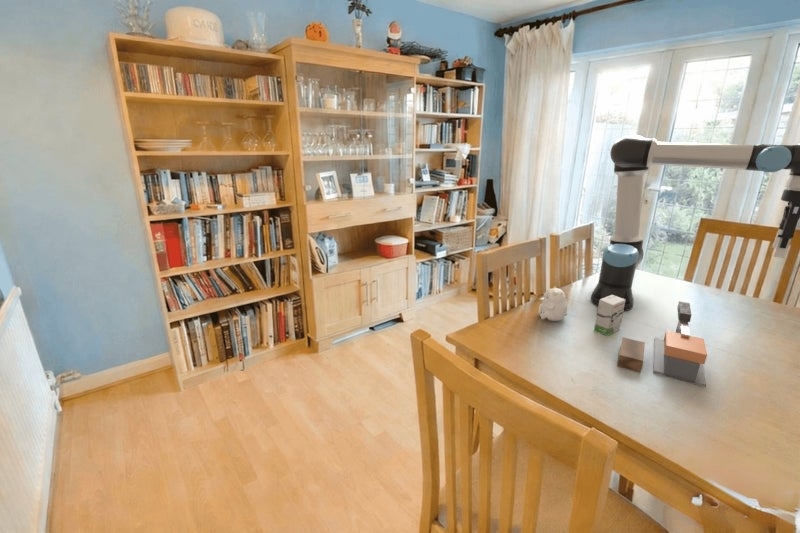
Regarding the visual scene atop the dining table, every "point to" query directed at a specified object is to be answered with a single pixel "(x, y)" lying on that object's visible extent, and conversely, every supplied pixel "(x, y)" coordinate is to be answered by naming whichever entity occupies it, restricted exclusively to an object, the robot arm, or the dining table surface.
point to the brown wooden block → (631, 354)
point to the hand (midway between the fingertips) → (778, 252)
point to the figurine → (553, 305)
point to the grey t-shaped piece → (683, 319)
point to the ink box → (609, 315)
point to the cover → (685, 347)
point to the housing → (677, 366)
